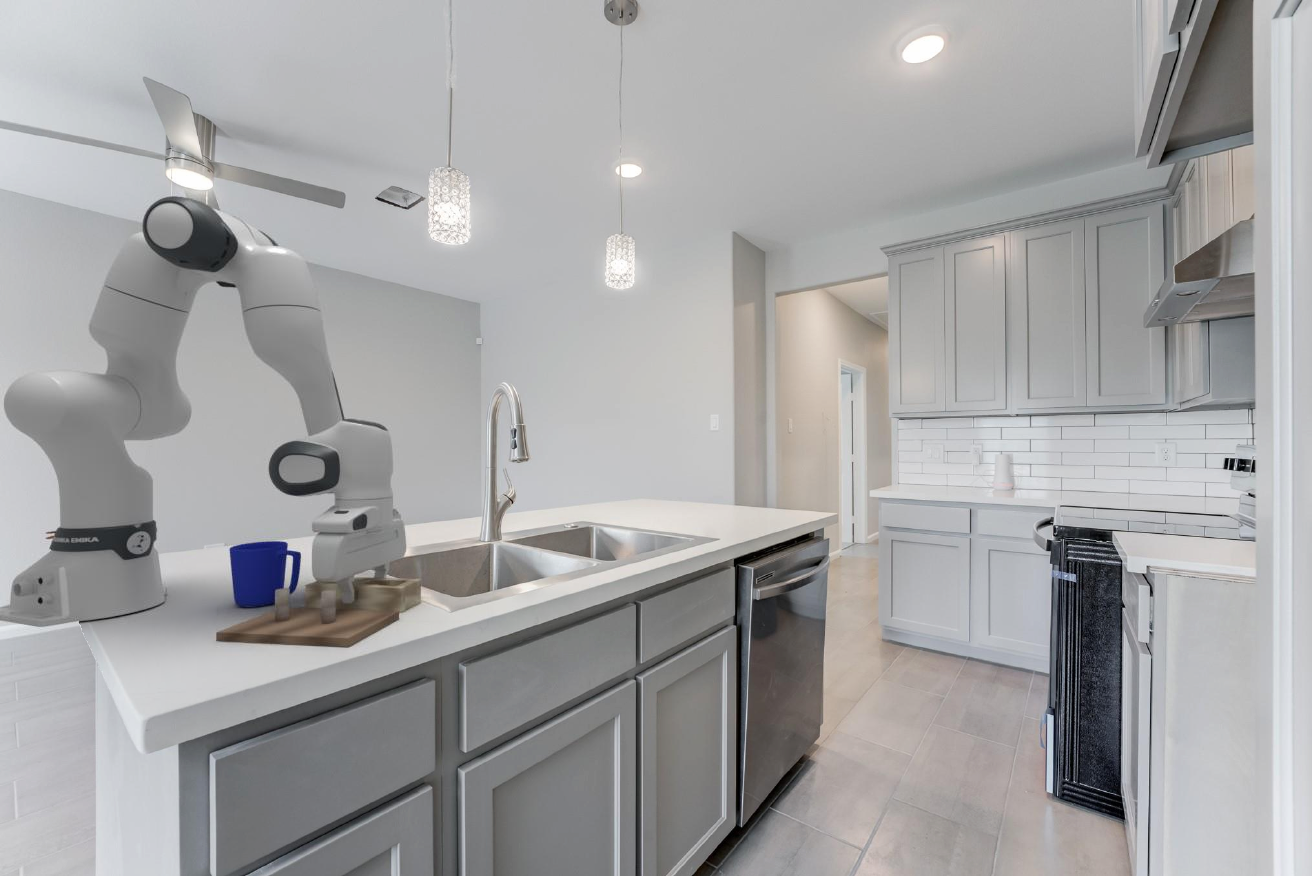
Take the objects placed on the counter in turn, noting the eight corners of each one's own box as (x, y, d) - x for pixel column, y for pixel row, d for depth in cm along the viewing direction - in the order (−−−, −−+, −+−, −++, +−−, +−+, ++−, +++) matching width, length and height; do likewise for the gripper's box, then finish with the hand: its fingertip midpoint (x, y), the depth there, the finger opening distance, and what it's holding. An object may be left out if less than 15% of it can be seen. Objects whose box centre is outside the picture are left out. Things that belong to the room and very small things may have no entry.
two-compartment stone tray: (305, 609, 93) (305, 585, 93) (330, 598, 99) (330, 576, 99) (401, 612, 91) (401, 588, 91) (420, 602, 97) (420, 579, 97)
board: (216, 640, 79) (216, 600, 79) (283, 614, 90) (283, 579, 90) (348, 647, 76) (348, 605, 76) (399, 619, 88) (399, 582, 88)
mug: (277, 613, 91) (277, 551, 91) (216, 608, 93) (216, 549, 93) (317, 599, 99) (317, 542, 99) (260, 595, 101) (260, 540, 101)
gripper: (383, 506, 106) (383, 580, 106) (303, 523, 86) (303, 613, 86) (415, 507, 105) (415, 581, 105) (341, 523, 85) (341, 614, 85)
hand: (364, 595), depth 95 cm, fingers closed on two-compartment stone tray, 6 cm apart
